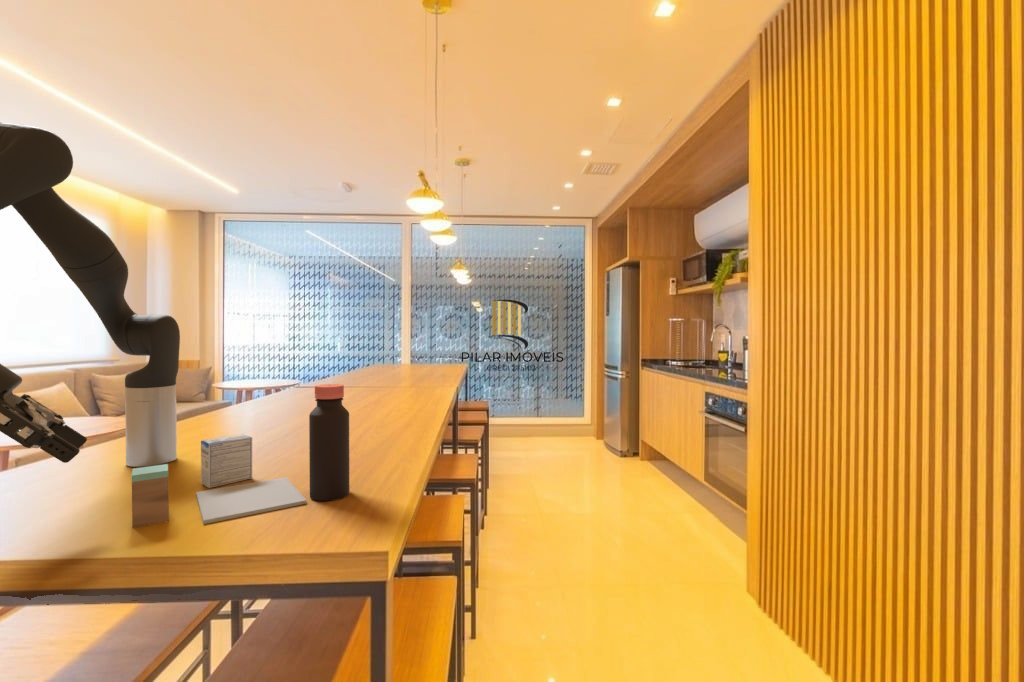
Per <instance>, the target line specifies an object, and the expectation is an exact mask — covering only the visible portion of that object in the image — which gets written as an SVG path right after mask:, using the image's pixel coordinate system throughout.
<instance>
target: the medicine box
mask: <svg viewBox="0 0 1024 682" xmlns="http://www.w3.org/2000/svg"><path fill="white" fill-rule="evenodd" d="M200 462H201V463H200V471H201V474H200V475H201V477H200V478H201V479H200V480H201V484H202V485H204V487H207V488H208V489H211V488H212V489H213V488H215V487H216V488H217V487H220V486H224V485H230V484H233V483H237V482H241V481H247V480H251V479H253V437H252V436H250V435H248V434H245V433H238V434H233V435H232V434H231V435H226V436H221V437H220V436H219V437H212V438H209V439H208V438H207V439H202V440H201V441H200Z"/></svg>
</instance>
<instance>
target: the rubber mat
mask: <svg viewBox="0 0 1024 682" xmlns="http://www.w3.org/2000/svg"><path fill="white" fill-rule="evenodd" d="M195 496H196V501H197V503H198V509H199V510H200V511H199V512H200V517H201V519H202V520H201V521H202V524H203V525H206V524H211V523H216V522H221V521H222V522H223V521H227V520H232V519H236V518H241V517H242V518H243V517H247V516H251V515H256V514H261V513H267V512H271V511H276V510H281V509H286V508H292V507H296V506H301V505H306V504H307V499H306V497H304V496H303V495H302V493H301V492H299V490H298V489H297V488H296V487H295V486H294V484H293V483H292V482H291V481H290V480H289V479H288V478H287V477H286V476H284V477H279V478H272V479H267V480H261V481H254V482H250V483H243V484H238V485H229V486H225V487H220V488H219V487H218V488H212V489H208V490H207V489H205V490H200V491H196V492H195Z"/></svg>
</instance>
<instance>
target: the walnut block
mask: <svg viewBox="0 0 1024 682" xmlns="http://www.w3.org/2000/svg"><path fill="white" fill-rule="evenodd" d="M169 488H170V487H169V463H163V464H158V465H152V466H142V467H136V468H135V467H134V468H132V470H131V516H132V517H131V519H132V520H131V522H132V523H131V525H132V526H131V527H132V529H135V528H140V526H141V527H145V526H144V525H146V526H150V525H149V524H151V525H155V524H154V523H156V524H161V523H160V522H162V523H165V521H167V522H169V521H170V507H169V506H170V505H169V503H170V499H169V498H170V497H169Z"/></svg>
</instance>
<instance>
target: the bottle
mask: <svg viewBox="0 0 1024 682" xmlns="http://www.w3.org/2000/svg"><path fill="white" fill-rule="evenodd" d="M344 388H345V387H344V384H339V383H335V384H334V383H332V384H331V383H329V384H327V383H326V384H318V385H314V399H315V402H316V406H315V407H314V408H313V409H312V410H311V412H309V415H308V417H309V418H308V420H309V422H308V423H309V424H308V425H309V426H308V428H309V430H308V431H309V432H308V433H309V435H308V437H309V442H308V443H309V445H308V446H309V447H308V448H309V452H308V453H309V498H311V499H312V500H314V501H317V502H329V501H335V500H340V499H342V498H344V497H346V496H348V495H349V493H350V412H349V411H348V409H347V408H345V406H344V405H343V401H344V397H345V394H344V393H345V391H344V390H345V389H344Z"/></svg>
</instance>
